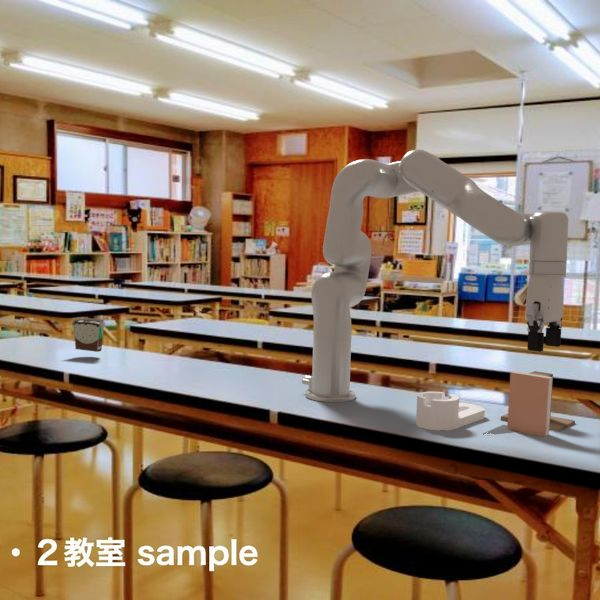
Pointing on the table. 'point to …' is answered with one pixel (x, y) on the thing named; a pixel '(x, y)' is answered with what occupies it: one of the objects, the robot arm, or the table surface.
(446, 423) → the bracket
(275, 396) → the table surface
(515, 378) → the glazed tile
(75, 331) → the food container
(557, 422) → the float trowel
